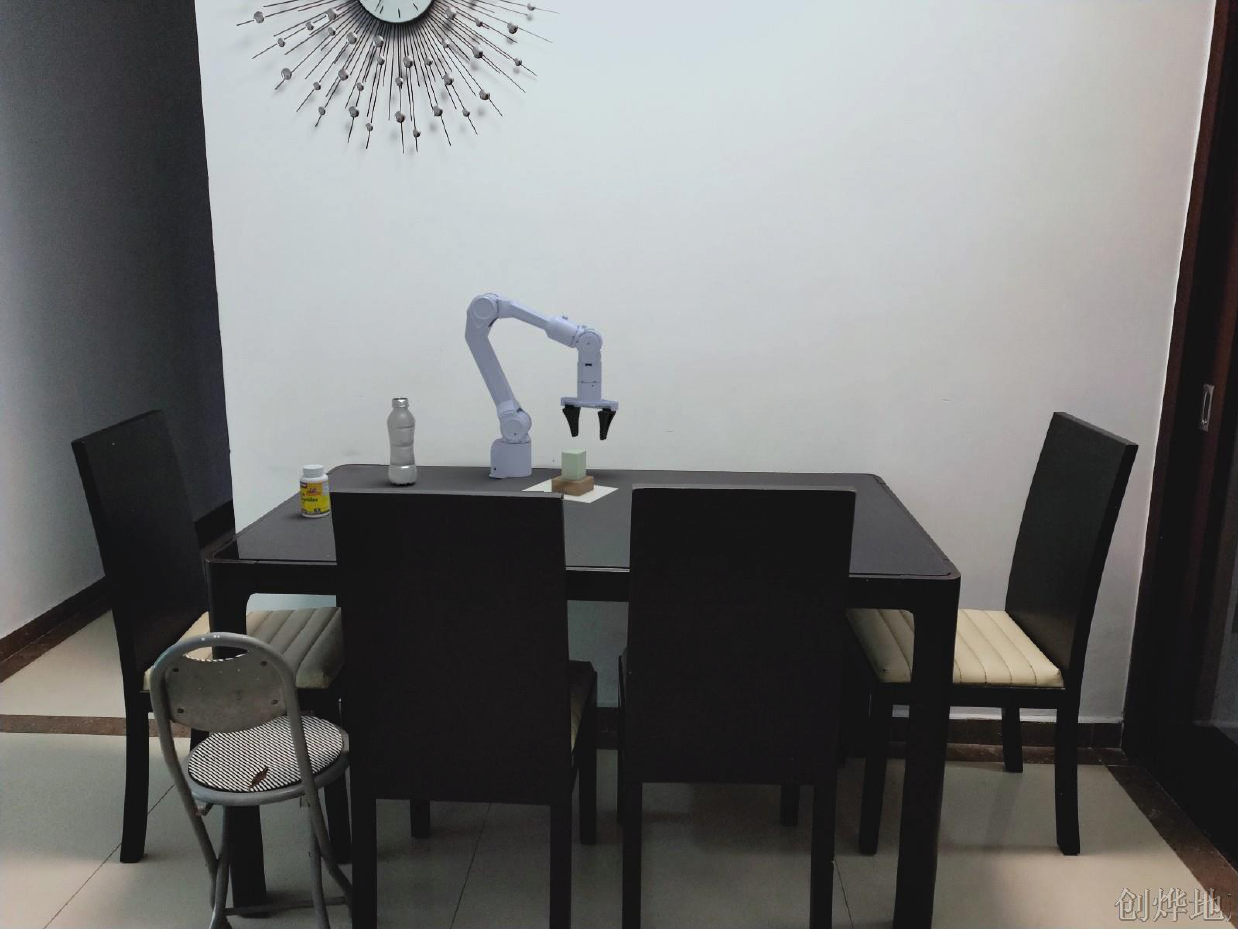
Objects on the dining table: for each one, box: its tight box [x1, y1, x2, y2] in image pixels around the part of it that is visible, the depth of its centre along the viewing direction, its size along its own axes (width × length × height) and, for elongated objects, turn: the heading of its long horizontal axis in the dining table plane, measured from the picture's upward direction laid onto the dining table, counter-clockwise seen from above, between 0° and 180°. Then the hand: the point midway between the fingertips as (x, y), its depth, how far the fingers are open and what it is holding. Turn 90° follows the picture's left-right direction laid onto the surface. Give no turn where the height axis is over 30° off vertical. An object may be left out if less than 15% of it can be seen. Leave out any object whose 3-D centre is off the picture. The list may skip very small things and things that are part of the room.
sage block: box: [561, 448, 587, 480], centre depth 211 cm, size 4×4×6 cm
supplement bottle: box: [299, 463, 331, 519], centre depth 193 cm, size 6×6×10 cm
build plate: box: [522, 478, 619, 504], centre depth 213 cm, size 18×14×1 cm
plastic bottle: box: [386, 397, 418, 485], centre depth 217 cm, size 6×7×20 cm
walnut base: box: [550, 474, 595, 496], centre depth 212 cm, size 7×7×3 cm
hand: (588, 438), depth 225 cm, fingers open, 7 cm apart
